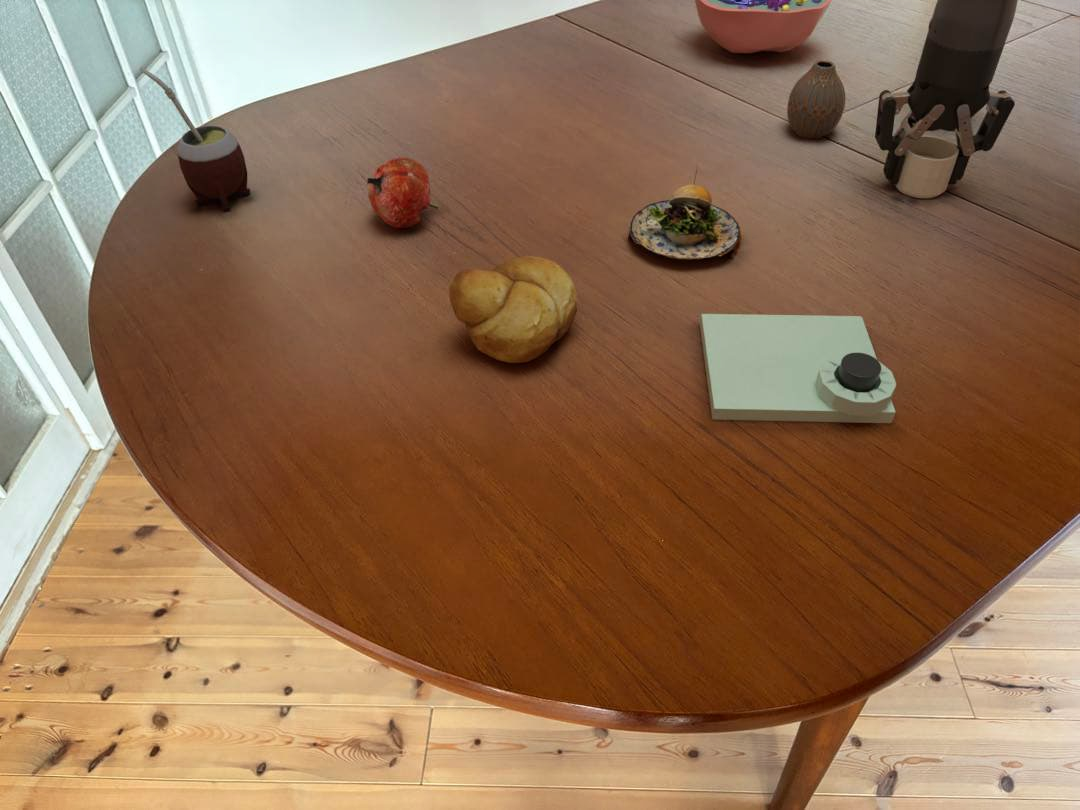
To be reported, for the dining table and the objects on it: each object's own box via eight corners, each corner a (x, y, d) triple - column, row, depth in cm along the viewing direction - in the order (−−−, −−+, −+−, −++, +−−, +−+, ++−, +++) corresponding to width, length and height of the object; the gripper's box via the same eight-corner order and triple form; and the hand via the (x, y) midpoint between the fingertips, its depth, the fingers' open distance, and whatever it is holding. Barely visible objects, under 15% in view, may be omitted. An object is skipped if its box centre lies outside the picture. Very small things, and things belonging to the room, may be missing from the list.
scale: (858, 327, 82) (866, 302, 80) (893, 428, 72) (903, 402, 70) (699, 325, 82) (703, 299, 80) (712, 424, 73) (717, 399, 71)
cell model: (811, 80, 122) (828, -4, 114) (674, 62, 127) (681, -19, 120) (827, 36, 133) (843, -43, 125) (700, 22, 139) (708, -54, 131)
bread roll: (535, 282, 88) (533, 214, 82) (609, 320, 83) (612, 250, 78) (443, 343, 81) (434, 273, 76) (518, 388, 76) (514, 317, 71)
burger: (606, 245, 93) (609, 182, 87) (669, 201, 99) (675, 140, 94) (700, 287, 87) (709, 222, 82) (760, 237, 93) (772, 174, 88)
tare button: (871, 368, 73) (876, 352, 72) (880, 393, 71) (885, 377, 70) (833, 367, 74) (838, 351, 72) (840, 392, 71) (845, 377, 70)
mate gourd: (258, 206, 100) (223, 80, 90) (189, 221, 98) (144, 93, 87) (248, 177, 105) (214, 54, 95) (182, 191, 103) (139, 67, 92)
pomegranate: (413, 214, 102) (339, 184, 96) (445, 164, 99) (372, 130, 92) (432, 251, 98) (357, 223, 91) (467, 201, 95) (391, 168, 88)
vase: (804, 148, 107) (819, 79, 101) (772, 125, 112) (784, 58, 106) (849, 137, 109) (866, 68, 103) (815, 115, 114) (829, 48, 108)
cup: (937, 174, 102) (950, 135, 99) (951, 200, 98) (965, 160, 94) (886, 174, 102) (897, 135, 99) (898, 200, 98) (911, 159, 95)
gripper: (904, 48, 86) (864, 197, 97) (1053, 47, 85) (994, 198, 96) (886, 20, 91) (850, 165, 103) (1026, 20, 90) (973, 166, 102)
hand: (920, 181), depth 99 cm, fingers closed on cup, 6 cm apart
